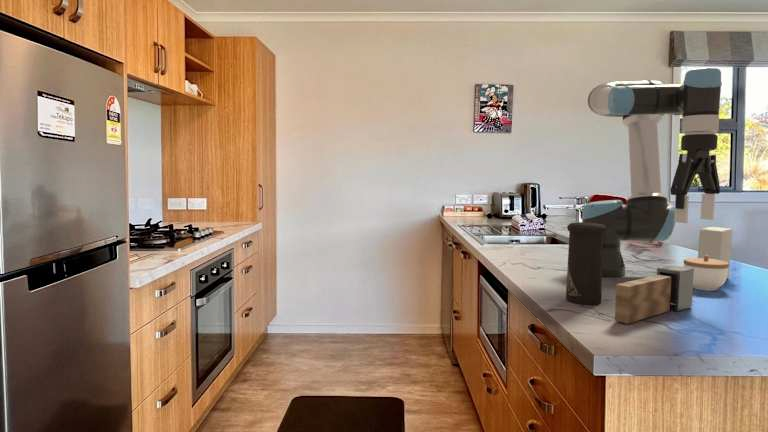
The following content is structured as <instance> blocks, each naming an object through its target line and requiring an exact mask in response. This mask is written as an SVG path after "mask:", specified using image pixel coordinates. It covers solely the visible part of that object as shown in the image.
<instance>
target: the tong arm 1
mask: <svg viewBox="0 0 768 432" xmlns="http://www.w3.org/2000/svg"><path fill="white" fill-rule="evenodd" d="M662 276H663V275H657V274H656V275H651V276H647V277H643V278H638V279H635V280H631V281H625V282H621V283H617V284H616V286H615V287H616V288H615V307H614V309H615V310H614V321H615V322H618V323H619V322H620V323H622V322H621V312H622V289H623V285H627V284H632V283H636V282H640V281H645V280H649V279H654V278H658V277H662Z"/></svg>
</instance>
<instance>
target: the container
mask: <svg viewBox="0 0 768 432" xmlns="http://www.w3.org/2000/svg"><path fill="white" fill-rule="evenodd" d="M566 229H567V231H568V232H569V234H568V253H567V255H568V256H567V269H566V271H567V272H566V290H565V299H566V301H568V302H571V303H574V304H579V305H586V306H587V305H590V306H591V305H599V304H601V303H602V290H603V289H602V287H603V286H602V285H603V283H602V282H603V281H602V280H603V276H602V247H603V233H604V232H605V231H606V227H605V226H604V225H602V224H597V223H590V222H582V221H581V222H571V223H569V224H568V225H567V226H566Z"/></svg>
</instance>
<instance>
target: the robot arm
mask: <svg viewBox="0 0 768 432" xmlns="http://www.w3.org/2000/svg"><path fill="white" fill-rule="evenodd" d="M684 74H685V75H684V80H683V83H682V84H664V83H663V82H662V81H660V80H650V79H649V80H648V79H645V80H631V81H629V80H628V81H627V80H626V81H610V82H605V83H602V84H599V85H597V86H595V87H594V88H593V89H592V90H591V91H590V93H588V97H587V105H588V108H589V110H590V111H592V112H593V113H594V114H597V115H599V116H603V117H608V118H613V117H614V118H618V117H619V118H622V124H623V125H624V126H626V127H627V131H628V132H627V133H628V146H629V147H628V150H629V153H628V154H629V172H630V173H629V174H630V175H629V176H630V195H629V197H628V198H627V199H626V204H624V202H623V200H621V199H611V200H609V199H608V200H598V201H592V202H588V203H586V204H584V205H583V208H582V216H581V219H582V220H581V222H590V223H597V224H602V225H604V226H605V227H606V231H605V232H604V233H603V247H602V277H621V276H625V275H626V265H625V261H624V258H623V255H622V251H621V242H623V241H624V242H625V241H626V242H628V241H629V242H650V243H653V242H666V241H667V240H668V239H669V238H670V237H671V236H672V234H673V231H674V229H675V225H676V223H679V224H680V223H681V224H687V223H688V222H689V221H688V217H689V206H690V205H689V204H690V201H689V200H690V195H688V193H689V190H690V188H691V186H692V184H693V182H694V180H695V177H696V175H698V178H699V181H700V185H701V187H702V190H703V193H702V194H701V204H700V205H701V207H700V220H708V221H713V220H714V219H715V218H714V217H715V201H716V195H719V194H720V193H721V186H720V180H719V173H718V168H717V154H713V153H712V154H710V152H711V151H716V150H717V148H718V140H719V139H718V135H717V134H716V133H718V132H719V122H720V115H719V114H720V105H721V104H720V103H721V93H722V92H721V90H722V89H721V88H722V85H723V84H722V83H723V82H722V71H721V69H720V68H717V67H700V68H694V69H689V70H687V71H686V73H684ZM665 115H673V116H682V121H681V122H680V125H681V133H682V134H684V135H682V136H681V137H680V138H681V139H680V150H681V151H683V152H686V153H679V156H678V163H677V168H676V169H675V173H674V176H673V180H672V183H671V186H670V194H671V195H670V196H675V199H674V200H675V201H674V205H672V204H668V197H666V196H665V195H663V194H662V183H661V167H660V164H661V163H660V153H659V151H660V150H659V149H660V147H659V134H658V133H659V131H658V130H659V129H658V124H659V123H660V122H661V121H662V119H663V116H665Z"/></svg>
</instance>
